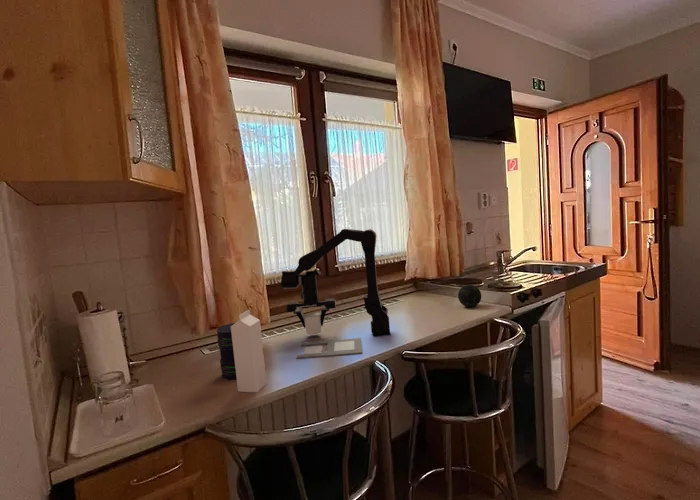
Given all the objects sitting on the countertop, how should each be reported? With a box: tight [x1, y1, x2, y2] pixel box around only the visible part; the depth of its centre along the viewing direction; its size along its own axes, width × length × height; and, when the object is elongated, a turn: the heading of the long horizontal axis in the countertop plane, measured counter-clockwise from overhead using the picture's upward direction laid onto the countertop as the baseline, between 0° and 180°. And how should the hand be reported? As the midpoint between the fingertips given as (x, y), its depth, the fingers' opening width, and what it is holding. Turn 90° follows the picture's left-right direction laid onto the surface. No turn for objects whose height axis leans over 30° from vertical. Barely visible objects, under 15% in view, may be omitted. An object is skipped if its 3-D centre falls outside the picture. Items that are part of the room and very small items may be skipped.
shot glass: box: [303, 312, 322, 336], centre depth 160 cm, size 7×7×7 cm
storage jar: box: [216, 322, 237, 381], centre depth 128 cm, size 10×10×15 cm
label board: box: [296, 337, 363, 360], centre depth 145 cm, size 22×15×1 cm
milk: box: [231, 309, 267, 393], centre depth 117 cm, size 6×6×22 cm
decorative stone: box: [457, 284, 482, 308], centre depth 185 cm, size 10×10×10 cm
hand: (313, 326), depth 160 cm, fingers closed on shot glass, 6 cm apart
